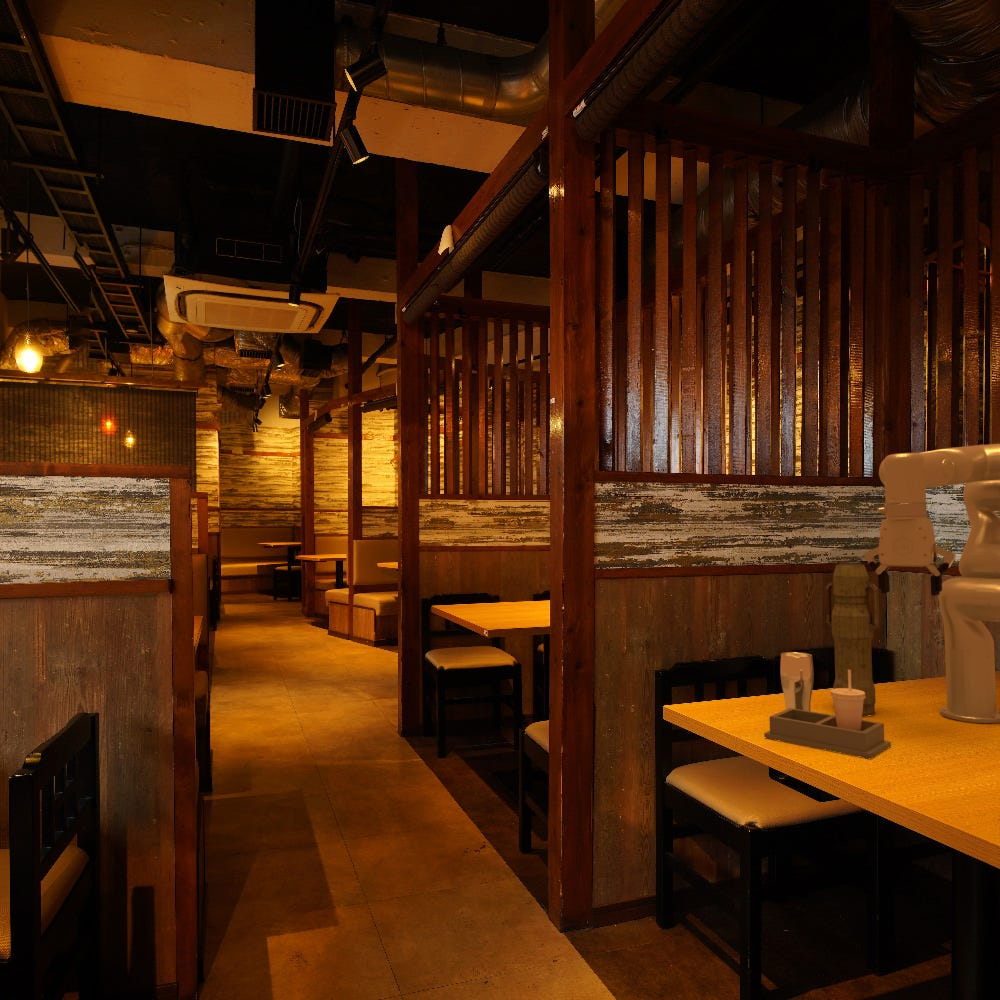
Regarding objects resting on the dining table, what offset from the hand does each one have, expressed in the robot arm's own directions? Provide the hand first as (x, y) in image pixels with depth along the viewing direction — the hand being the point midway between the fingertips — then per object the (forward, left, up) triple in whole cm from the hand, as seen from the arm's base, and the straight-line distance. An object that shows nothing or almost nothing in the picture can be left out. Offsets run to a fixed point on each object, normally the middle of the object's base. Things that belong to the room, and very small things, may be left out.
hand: (910, 593), depth 157 cm
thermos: (-13, -17, -30) cm, 36 cm away
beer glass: (+4, -23, -30) cm, 38 cm away
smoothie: (+16, -7, -29) cm, 34 cm away
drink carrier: (+16, -12, -30) cm, 36 cm away
